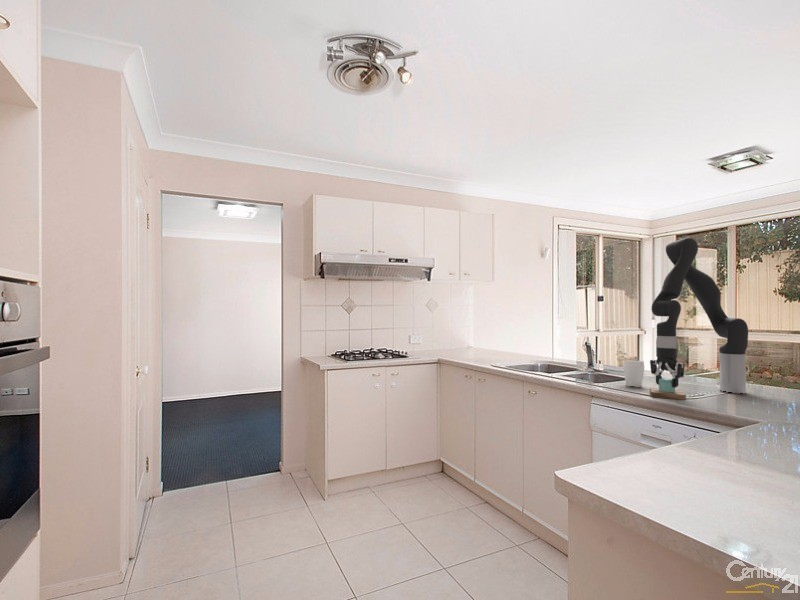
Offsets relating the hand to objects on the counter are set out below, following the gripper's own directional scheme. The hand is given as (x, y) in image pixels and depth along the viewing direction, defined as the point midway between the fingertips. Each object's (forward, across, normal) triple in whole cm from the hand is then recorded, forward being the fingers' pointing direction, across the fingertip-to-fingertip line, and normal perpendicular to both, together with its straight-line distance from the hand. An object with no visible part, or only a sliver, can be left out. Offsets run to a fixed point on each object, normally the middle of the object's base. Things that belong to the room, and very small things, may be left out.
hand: (666, 385), depth 177 cm
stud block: (+4, 0, 0) cm, 4 cm away
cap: (+2, 0, 0) cm, 2 cm away
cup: (+5, -23, +8) cm, 25 cm away
